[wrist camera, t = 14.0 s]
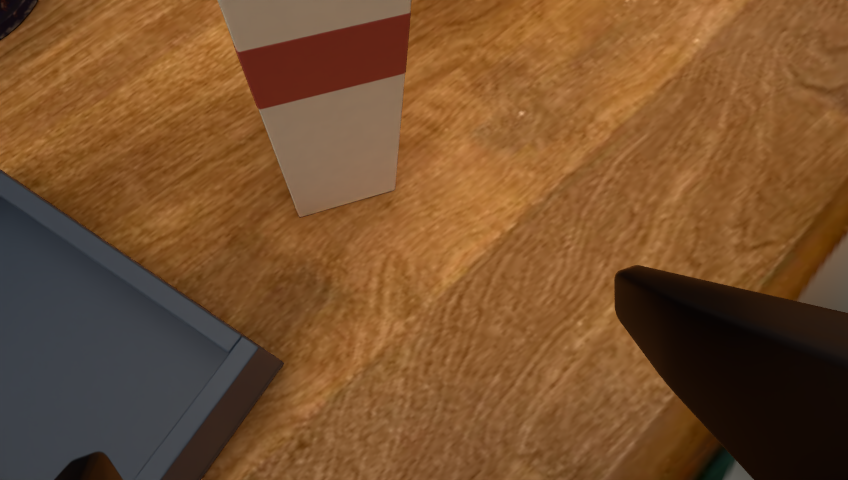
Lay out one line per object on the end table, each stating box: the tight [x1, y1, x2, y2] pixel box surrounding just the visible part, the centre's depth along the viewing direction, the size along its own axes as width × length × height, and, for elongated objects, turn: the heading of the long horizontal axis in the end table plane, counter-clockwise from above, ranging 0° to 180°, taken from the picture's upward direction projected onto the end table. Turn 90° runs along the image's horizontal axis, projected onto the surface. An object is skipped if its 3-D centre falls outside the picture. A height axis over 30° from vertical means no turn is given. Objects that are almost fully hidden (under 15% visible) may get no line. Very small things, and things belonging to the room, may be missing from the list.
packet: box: [218, 0, 411, 217], centre depth 17 cm, size 5×4×12 cm
